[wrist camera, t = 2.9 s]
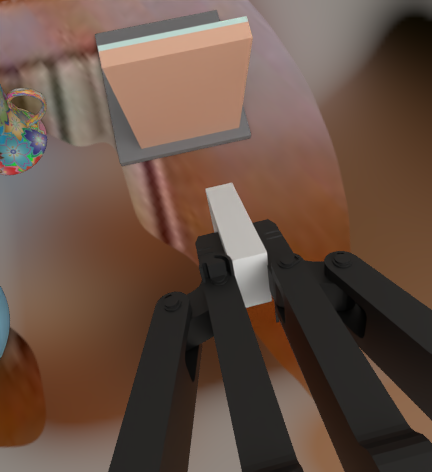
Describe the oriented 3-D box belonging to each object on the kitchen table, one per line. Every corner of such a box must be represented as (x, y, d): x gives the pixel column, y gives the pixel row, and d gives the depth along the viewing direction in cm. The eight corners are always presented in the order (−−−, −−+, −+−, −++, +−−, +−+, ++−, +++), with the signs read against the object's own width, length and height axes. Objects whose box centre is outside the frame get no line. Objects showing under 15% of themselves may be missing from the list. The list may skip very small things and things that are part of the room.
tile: (239, 127, 40) (252, 37, 26) (141, 148, 39) (101, 68, 25) (235, 112, 40) (246, 16, 26) (138, 133, 39) (97, 46, 26)
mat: (250, 138, 40) (251, 134, 39) (121, 166, 39) (120, 163, 39) (216, 15, 43) (216, 10, 43) (97, 39, 43) (94, 34, 42)
